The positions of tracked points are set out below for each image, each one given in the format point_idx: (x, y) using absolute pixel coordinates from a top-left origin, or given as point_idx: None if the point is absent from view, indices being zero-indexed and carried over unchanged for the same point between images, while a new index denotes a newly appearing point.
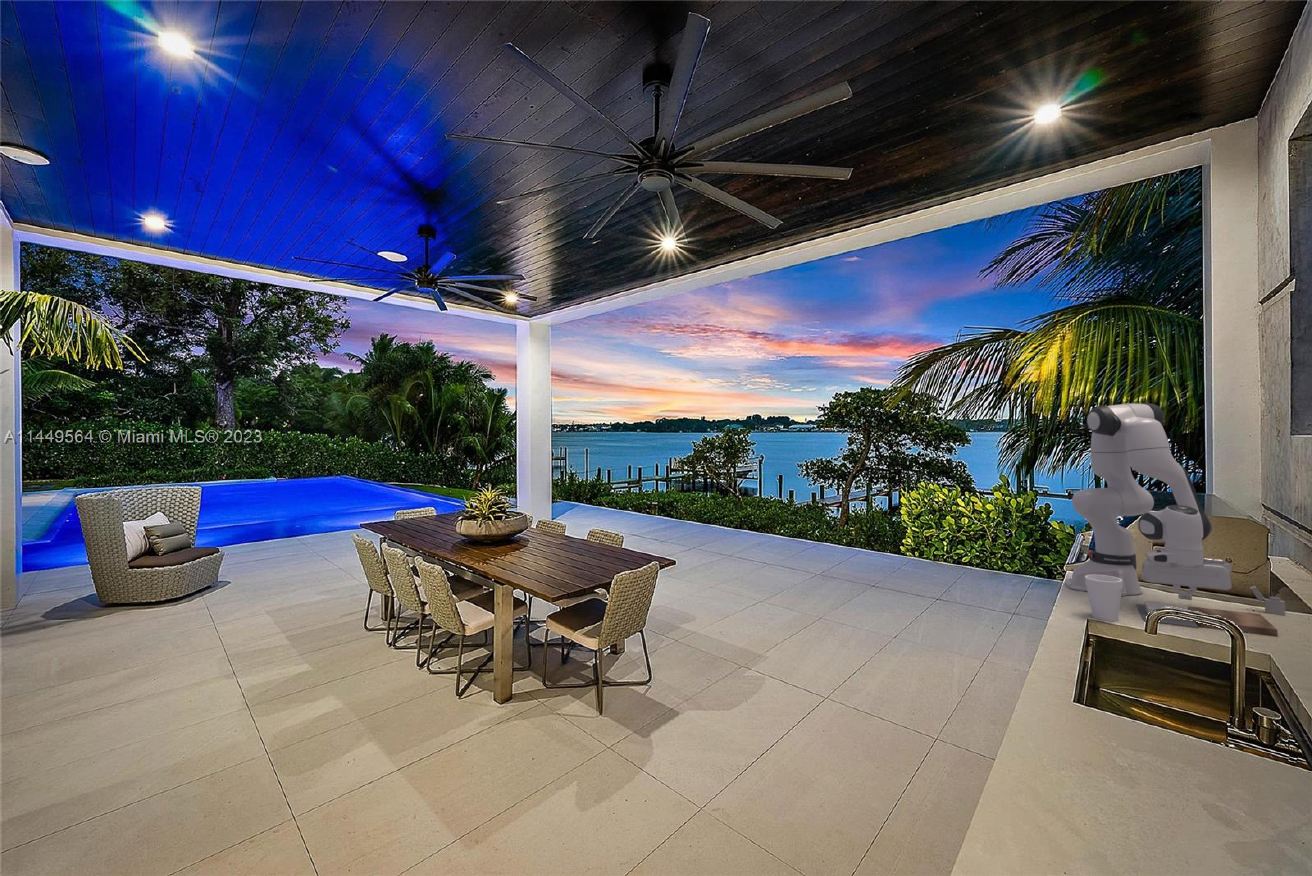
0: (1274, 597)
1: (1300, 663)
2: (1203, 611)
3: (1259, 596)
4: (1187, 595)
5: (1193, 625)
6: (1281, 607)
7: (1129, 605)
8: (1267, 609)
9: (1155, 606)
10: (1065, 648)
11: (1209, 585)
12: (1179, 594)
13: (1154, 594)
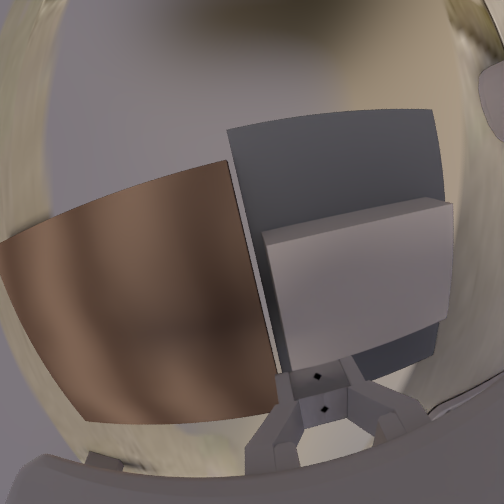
0: None
1: (12, 4)
2: (222, 373)
3: None
4: (307, 391)
5: (250, 141)
6: None
7: (448, 335)
8: (113, 466)
9: (425, 273)
10: None
11: (125, 498)
12: (360, 377)
13: None
